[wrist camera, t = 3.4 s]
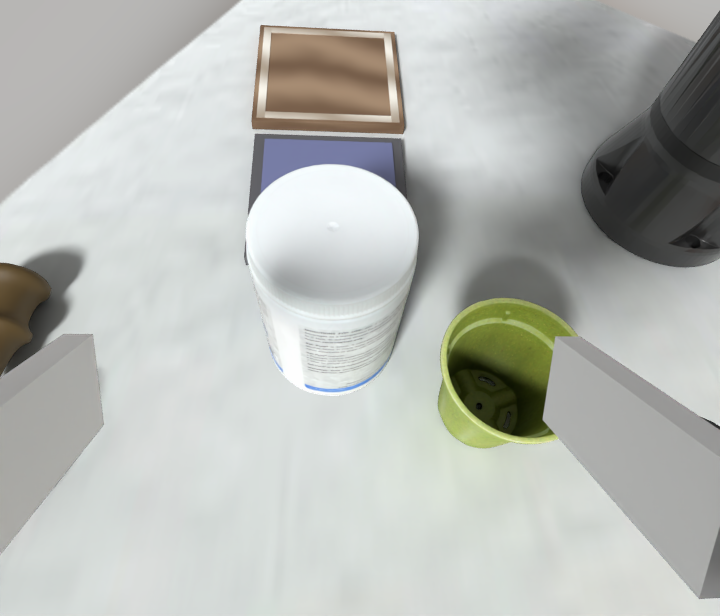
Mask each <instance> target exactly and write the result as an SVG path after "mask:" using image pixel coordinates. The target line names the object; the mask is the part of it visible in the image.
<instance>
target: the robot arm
mask: <svg viewBox="0 0 720 616" xmlns="http://www.w3.org/2000/svg"><path fill="white" fill-rule="evenodd" d="M581 188H582V195H583V199H584V202H585V205H586V207H587V209H588V211H589V213H590V215H591V216H592V218H593V219H594V221H595V222H596V223H597V225H598V226H599V227H600V228H601V229H602V230H603V231H604V232H605V233H606V234H607V235H608V236H609V237H610V238H611V239H612V240H614V241H615V242H616V243H618V244H619V245H620V246H622V247H623V248H625V249H627V250H628V251H630V252H632V253H634V254H636V255H638V256H640V257H642V258H644V259H647V260H649V261H652V262H655V263H659V264H663V265H668V266H674V267H695V266H701V265H705V264H709V263H711V262H713V261H715V260H717V259H719V258H720V11H719V12H718V14H717V15H716V17H715V18H714V19H713V21H712V22H711V24H710V25H709V26H708V28H707V29H706V31H705V32H704V33H703V35H702V36H701V38H700V39H699V40H698V42H697V43H696V45H695V46H694V47H693V49H692V50H691V52H690V53H689V54H688V56H687V57H686V59H685V60H684V61H683V63H682V64H681V66H680V67H679V68H678V70H677V71H676V73H675V74H674V75H673V77H672V78H671V79H670V81H669V82H668V83H667V85H666V86H665V88H664V89H663V91H662V92H661V93H660V95H659V96H658V98H657V99H656V100H655V102H654V103H653V104H652V106H651V107H650V108H649V109H647V110H646V111H645V112H643V113H642V114H641V115H639V116H638V117H637V118H635V119H634V120H633V121H631V122H630V123H629V124H627V125H626V126H625V127H623V128H622V129H621V130H619V131H618V132H617V133H615V134H614V135H613V136H612V137H610V138H609V139H608V140H606V141H605V142H604V143H603V144H602V145H601V146H600V147H599V148H598V150H597V151H596V152H595V154H594V155H593V157H592V158H591V160H590V161H589V163H588V164H587V166H586V168H585V170H584V172H583V176H582V182H581ZM543 421H544V422H545V423H546V424H547V425H548V427H549V428H550V429H551V430H552V431H553V432H554V433H555V435H556V436H557V437H558V438H559V439H560V440H561V441H562V443H563V444H564V445H565V446H566V447H567V448H568V449H569V451H570V452H571V453H572V454H573V455H574V456H575V457H576V459H577V460H578V461H579V462H580V463H581V464H582V465H583V467H584V468H585V469H586V470H587V471H588V472H589V473H590V475H591V476H592V477H593V478H594V479H595V480H596V481H597V483H598V484H599V485H600V486H601V487H602V488H603V489H604V491H605V492H606V493H607V494H608V495H609V496H610V498H611V499H612V500H613V501H614V502H615V503H616V504H617V506H618V507H619V508H620V509H621V510H622V511H623V512H624V514H625V515H626V516H627V517H628V518H629V519H630V520H631V522H632V523H633V524H634V525H635V526H636V527H637V528H638V530H639V531H640V532H641V533H642V534H643V535H644V536H645V538H646V539H647V540H648V541H649V542H650V543H651V544H652V546H653V547H654V548H655V549H656V550H657V551H658V552H659V554H660V555H661V556H662V557H663V558H664V559H665V560H666V562H667V563H668V564H669V565H670V566H671V567H672V569H673V570H674V571H675V572H676V573H677V574H678V575H679V577H680V578H681V579H682V580H683V581H684V582H685V583H686V585H687V586H688V587H689V588H690V589H691V590H692V591H693V593H694V594H695V595H696V596H697V597H698V598H699V599H705V598H720V426H718V425H716V424H715V423H713V422H711V421H709V420H707V419H705V418H702V417H700V416H698V415H697V414H695V413H694V412H692V411H691V410H689V409H688V408H686V407H685V406H683V405H682V404H680V403H679V402H677V401H676V400H674V399H673V398H671V397H670V396H668V395H667V394H665V393H664V392H662V391H661V390H659V389H658V388H656V387H655V386H653V385H652V384H650V383H649V382H647V381H646V380H644V379H643V378H641V377H640V376H638V375H637V374H635V373H634V372H632V371H631V370H629V369H628V368H626V367H625V366H623V365H622V364H620V363H619V362H617V361H616V360H614V359H613V358H611V357H610V356H608V355H607V354H605V353H604V352H602V351H601V350H599V349H598V348H596V347H595V346H593V345H592V344H591V343H589V342H588V341H586V340H585V339H583V338H582V337H570V336H555V343H554V349H553V355H552V362H551V368H550V375H549V381H548V387H547V394H546V400H545V407H544V413H543ZM103 425H104V421H103V413H102V404H101V396H100V388H99V380H98V372H97V364H96V356H95V348H94V340H93V334H63V335H61V336H60V337H58V338H57V339H56V340H54V341H53V342H51V343H50V344H48V345H47V346H45V347H44V348H43V349H41V350H40V351H38V352H37V353H35V354H34V355H33V356H31V357H30V358H28V359H27V360H25V361H24V362H22V363H21V364H20V365H18V366H17V367H15V368H14V369H12V370H11V371H9V372H8V373H7V374H5V375H4V376H2V377H1V378H0V555H1V553H2V552H3V551H4V550H5V548H6V547H7V546H8V545H9V543H10V542H11V541H12V540H13V538H14V537H15V536H16V535H17V533H18V532H19V531H20V529H21V528H22V527H23V526H24V524H25V523H26V522H27V521H28V519H29V518H30V517H31V516H32V514H33V513H34V512H35V511H36V509H37V508H38V507H39V506H40V504H41V503H42V502H43V501H44V499H45V498H46V497H47V496H48V494H49V493H50V492H51V491H52V489H53V488H54V487H55V486H56V484H57V483H58V482H59V481H60V479H61V478H62V477H63V475H64V474H65V473H66V472H67V470H68V469H69V468H70V467H71V465H72V464H73V463H74V462H75V460H76V459H77V458H78V457H79V455H80V454H81V453H82V452H83V450H84V449H85V448H86V447H87V445H88V444H89V443H90V442H91V440H92V439H93V438H94V437H95V435H96V434H97V433H98V432H99V430H100V429H101V428H102V427H103Z"/></svg>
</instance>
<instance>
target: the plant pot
mask: <svg viewBox="0 0 720 616" xmlns="http://www.w3.org/2000/svg"><path fill="white" fill-rule="evenodd" d="M555 336H570V337H579V336H578V335H577V334H576V333H575V331H574V330H573V329H572V328H571V327H570V326H569V325H568V324H567V323H566V322H565V321H564V320H562V319H561V318H560V317H558V316H557V315H556V314H554V313H552V312H551V311H549V310H547V309H546V308H543V307H541V306H539V305H537V304H534V303H531V302H528V301H525V300H520V299H514V298H493V299H488V300H484V301H480V302H477V303H475V304H473V305H471V306H469V307H467V308H466V309H464V310H463V311H462V312H460V313H459V314H458V315H457V316H456V317H455V318H454V319H453V321H452V322H451V324H450V325H449V327H448V329H447V330H446V333H445V335H444V338H443V341H442V345H441V352H440V363H441V371H442V376H443V381H442V385H441V388H440V393H439V398H438V409H439V413H440V415H441V418H442V420H443V422H444V424H445V426H446V428H447V430H448V431H449V432H450V433H451V434H452V435H453V436H454V437H455V438H456V439H458V440H459V441H461V442H462V443H464V444H466V445H469V446H472V447H476V448H491V447H496V446H499V445H503V444H506V443H509V442H514V443H520V444H541V443H546V442H550V441H554V440H557V439H559V438H558V437H557V436H556V435H555V433H554V432H553V431H552V430H551V429H550V428H549V427H548V425H547V424H546V423H545V422H544V421H543V413H544V407H545V400H546V394H547V387H548V381H549V375H550V368H551V362H552V355H553V349H554V343H555ZM478 377H486V378H488V379H490V380H492V381H493V382H494V383H495V386H492V385H490V384H488V383H487V382H484V381H481V380H479V379H478ZM477 403H481V404H482V409H480V410H478V409H477V408H476V404H477ZM507 412H510V413H511V418H510V424H509V426H508V427H507V428H504V427H503V425H504V423H505V420H506V417H507Z"/></svg>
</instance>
